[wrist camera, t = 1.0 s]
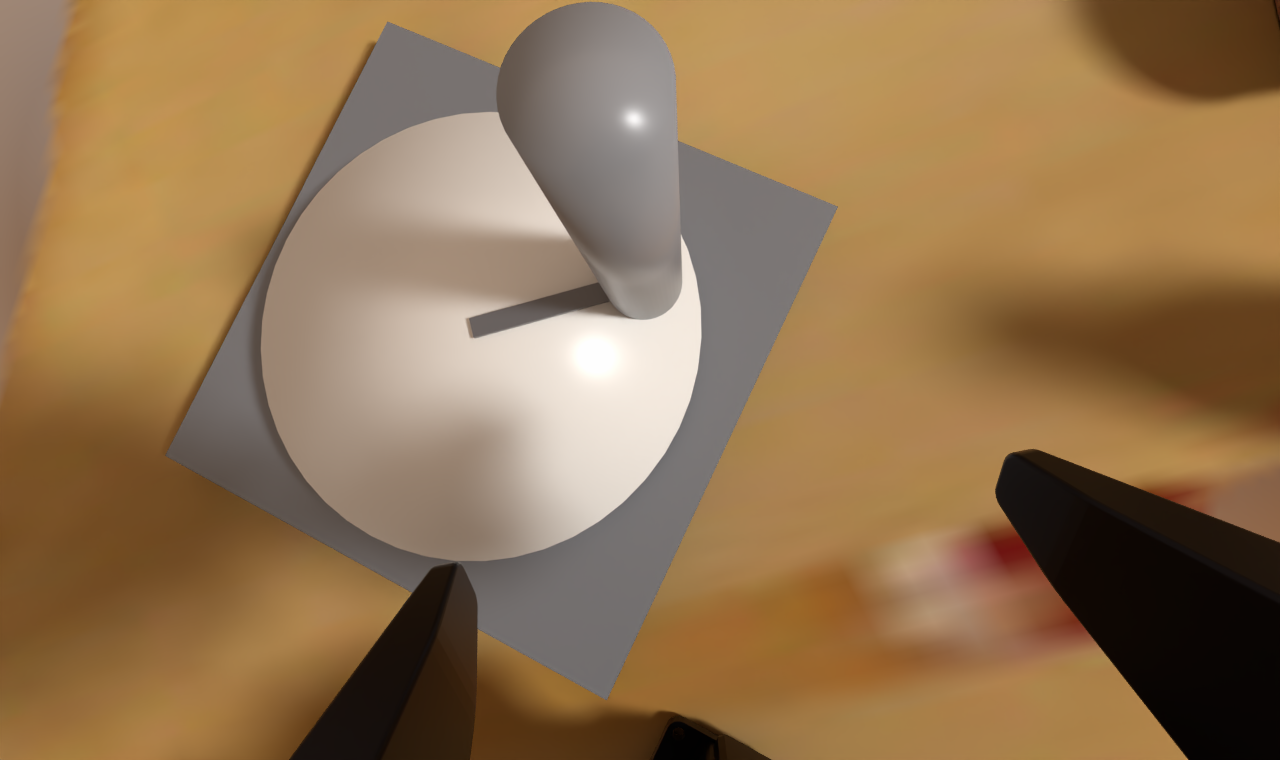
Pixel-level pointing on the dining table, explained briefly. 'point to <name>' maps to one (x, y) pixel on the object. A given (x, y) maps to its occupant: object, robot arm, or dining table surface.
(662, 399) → the dial
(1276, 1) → the tin
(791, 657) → the dining table surface
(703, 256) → the dial board
